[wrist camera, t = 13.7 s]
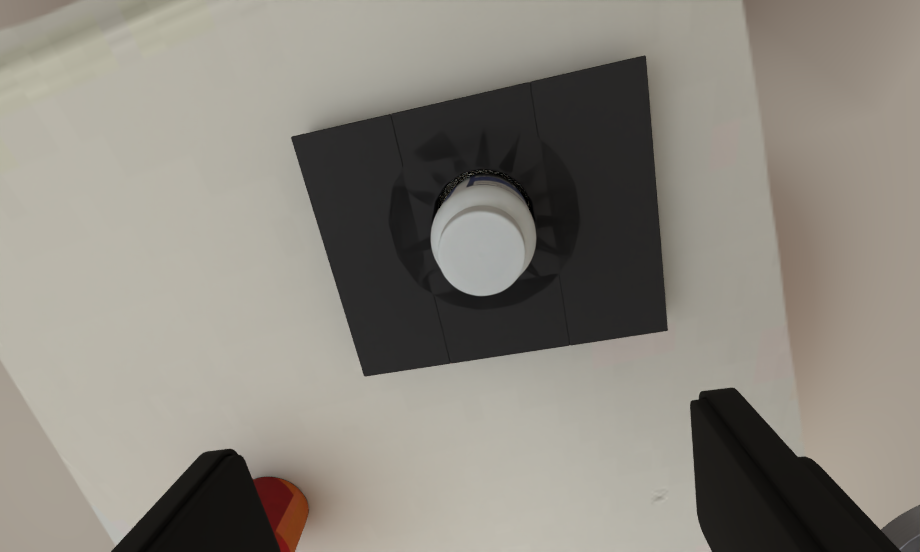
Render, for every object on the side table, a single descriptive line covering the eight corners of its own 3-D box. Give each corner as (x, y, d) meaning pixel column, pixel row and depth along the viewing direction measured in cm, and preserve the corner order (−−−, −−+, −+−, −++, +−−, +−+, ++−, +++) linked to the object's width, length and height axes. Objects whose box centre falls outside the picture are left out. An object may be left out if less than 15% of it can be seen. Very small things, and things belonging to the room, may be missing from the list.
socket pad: (632, 61, 26) (646, 55, 24) (654, 315, 31) (668, 330, 29) (307, 135, 29) (290, 136, 26) (373, 359, 34) (364, 377, 31)
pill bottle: (472, 269, 31) (462, 330, 22) (428, 201, 30) (398, 235, 20) (542, 228, 30) (564, 275, 20) (500, 155, 28) (503, 170, 19)
